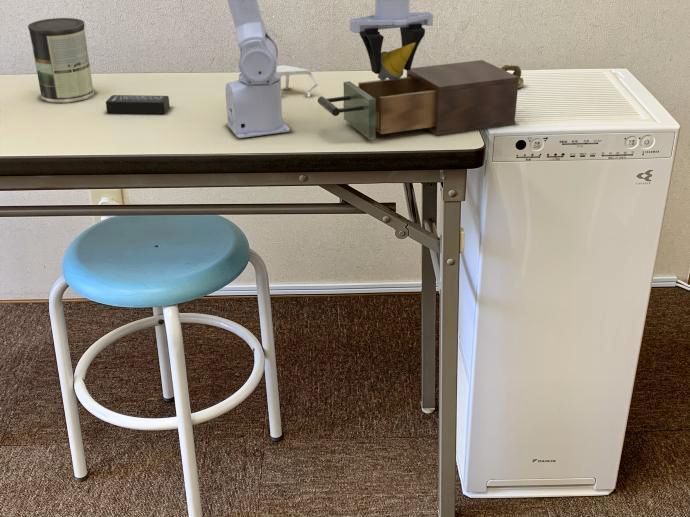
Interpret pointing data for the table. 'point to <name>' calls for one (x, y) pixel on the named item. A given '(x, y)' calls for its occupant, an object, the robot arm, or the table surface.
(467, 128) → the cabinet
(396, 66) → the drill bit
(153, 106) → the multiport hub
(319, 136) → the table surface
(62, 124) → the table surface
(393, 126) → the drawer
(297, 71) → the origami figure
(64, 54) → the coffee can
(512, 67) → the seal
